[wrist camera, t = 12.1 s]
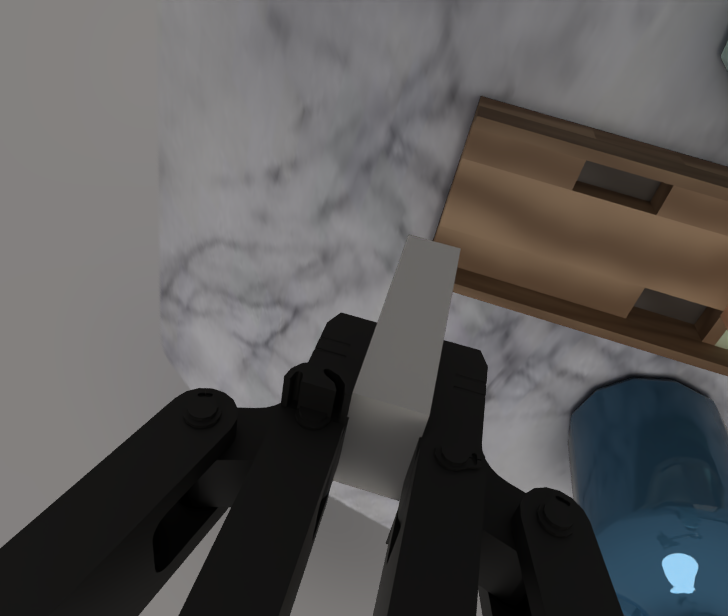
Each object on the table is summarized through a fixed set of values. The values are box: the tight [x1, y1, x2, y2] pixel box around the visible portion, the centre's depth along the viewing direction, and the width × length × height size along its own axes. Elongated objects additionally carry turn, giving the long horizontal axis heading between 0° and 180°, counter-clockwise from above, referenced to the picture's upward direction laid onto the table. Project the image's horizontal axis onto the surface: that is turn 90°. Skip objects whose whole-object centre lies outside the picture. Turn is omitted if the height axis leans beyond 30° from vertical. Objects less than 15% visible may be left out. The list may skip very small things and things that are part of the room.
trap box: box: [433, 96, 728, 376], centre depth 41 cm, size 13×30×6 cm, turn 77°
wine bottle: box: [568, 377, 728, 616], centre depth 41 cm, size 14×13×30 cm
